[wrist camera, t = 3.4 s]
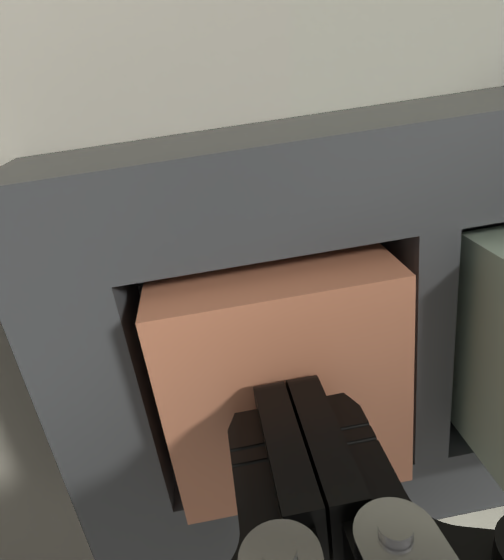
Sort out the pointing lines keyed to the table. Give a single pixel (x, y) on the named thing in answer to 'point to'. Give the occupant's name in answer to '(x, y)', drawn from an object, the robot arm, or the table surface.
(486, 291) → the sage key
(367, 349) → the terracotta key
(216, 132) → the panel
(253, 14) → the table surface
